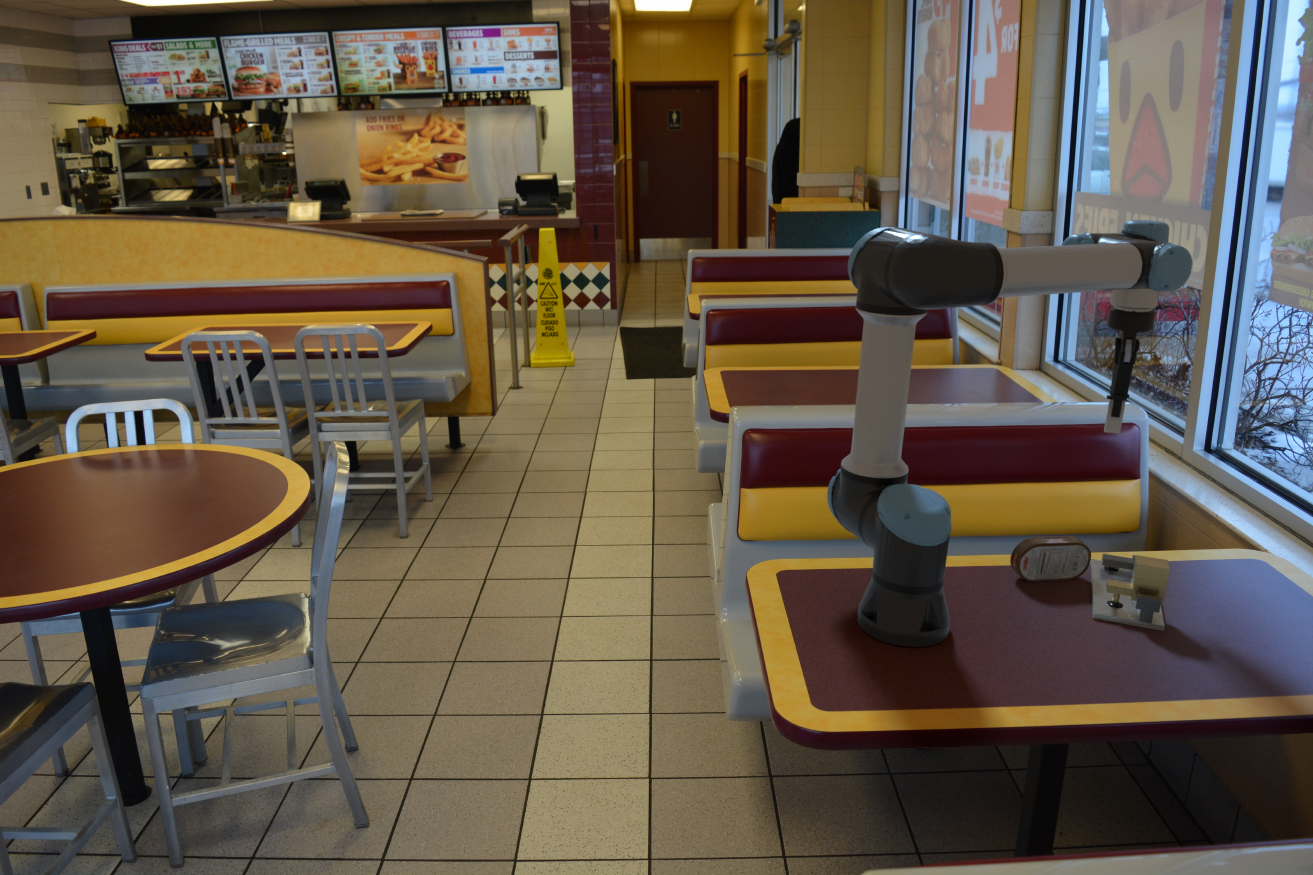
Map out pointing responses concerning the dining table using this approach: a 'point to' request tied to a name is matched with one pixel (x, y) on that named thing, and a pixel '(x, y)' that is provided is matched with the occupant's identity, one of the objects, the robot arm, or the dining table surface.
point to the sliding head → (1142, 580)
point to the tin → (1050, 558)
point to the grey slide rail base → (1143, 602)
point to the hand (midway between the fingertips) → (1111, 431)
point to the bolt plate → (1126, 607)
